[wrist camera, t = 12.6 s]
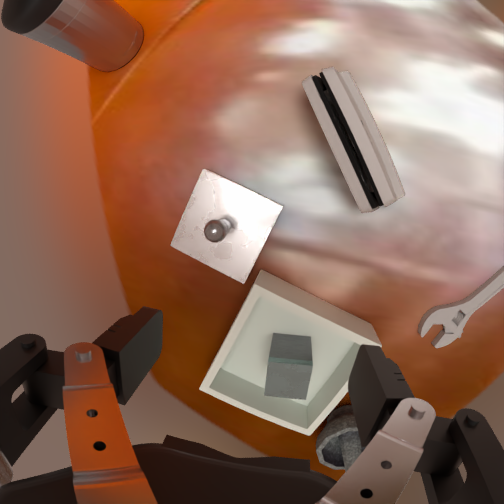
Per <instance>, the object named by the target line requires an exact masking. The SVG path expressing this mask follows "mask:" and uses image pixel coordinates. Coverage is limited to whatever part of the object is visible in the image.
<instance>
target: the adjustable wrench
mask: <svg viewBox="0 0 504 504" xmlns="http://www.w3.org/2000/svg"><path fill="white" fill-rule="evenodd" d="M503 288H504V266H503V267H502V268H501V269H500V270H499V271H497V272H496V273H495V274H494V275H493V276H492V277H491V278H489V279H488V280H487V281H486V282H485V283H484V284H482V285H481V286H480V287H479V288H478V289H476V290H475V291H474V292H473V293H472V294H470V295H469V296H468V297H466V298H465V299H463V300H460V301H457V302H454V303H450V304H445V305H439V306H435V307H433V308H431V309H429V310H428V311H427V312H426V313H425V314H424V315H423V317H422V319H421V321H420V323H419V325H418V333H419V334H420V335H421V337H422V338H423V337H424V335H425V334H426V333H427V332H428V330H429V329H430V328H431V326H432V325H433V324H443V328H444V330H441V331H440V332H439V334H438V335H437V336H436V337H435V339H434V340H433V341H432V342H431V343H432V344H433V345H434V347H436V348H440V347H444V346H446V345H448V344H450V343H451V342H453V341H454V340H455V339H456V338H457V337H459V338H460V337H461V333H462V332H463V327H464V326H465V324H466V322H467V320H468V319H469V317H470V316H471V315H472V314H473V313H474V312H475V311H476V310H477V309H478V308H480V307H481V306H482V305H483V304H485V303H486V302H487V301H488V300H490V299H491V298H492V297H493V296H494V295H496V294H497V293H498V292H499V291H500V290H501V289H503ZM459 310H461V311H462V313H461V312H460V311H459Z"/></svg>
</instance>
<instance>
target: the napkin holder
mask: <svg viewBox="0 0 504 504" xmlns="http://www.w3.org/2000/svg"><path fill="white" fill-rule="evenodd" d="M319 74H320V77H321V78H320V77H318V76H316V75H315V76H312V75H310V76H308V77H307V78H306V79H305V80H303V81H302V85H303V87H304V90H305V92H306V94H307V97H308V99H309V101H310V104H311V106H312V108H313V110H314V112H315V114H316V117H317V119H318V121H319V123H320V126H321V128H322V130H323V132H324V134H325V136H326V139H327V141H328V143H329V145H330V147H331V149H332V152H333V154H334V156H335V158H336V160H337V162H338V165H339V167H340V169H341V171H342V173H343V175H344V178H345V180H346V182H347V184H348V186H349V188H350V190H351V193H352V195H353V197H354V199H355V201H356V203H357V205H358V207H359V210H360V211H361V212H362V213H365V212H373V211H375V210H377V209H378V208H379V206H382V205H384V206H385V207H387V206H388V205H390V204H392V203H394V202H395V201H397V200H398V199H400V198H401V197H403V196H405V192H404V189H403V187H402V184H401V181H400V179H399V176H398V173H397V171H396V168H395V166H394V163H393V161H392V159H391V156H390V154H389V151H388V149H387V147H386V144H385V142H384V140H383V138H382V135H381V133H380V131H379V129H378V127H377V124H376V122H375V120H374V118H373V116H372V114H371V112H370V110H369V108H368V106H367V104H366V102H365V100H364V98H363V96H362V94H361V92H360V90H359V88H358V87H357V85H356V83H355V81H354V79H353V77H352V76H351V74H350V72H349V71H345V72H338V71H337V70H336V69H335V68H334V67H329V68H325V69H322V72H321V73H319ZM345 129H346V131H347V133H348V135H349V137H350V139H351V142H352V144H353V146H354V148H355V150H356V153H357V155H358V156H357V155H356V154H355V152H354V149H353V147H352V145H351V143H350V141H349V138H348V136H347V134H346V132H345Z"/></svg>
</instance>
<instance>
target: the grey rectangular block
mask: <svg viewBox="0 0 504 504" xmlns="http://www.w3.org/2000/svg"><path fill="white" fill-rule="evenodd" d="M312 368H313V359H312V344H311V336H300V335H290V334H280V333H273V336H272V342H271V347H270V353H269V358H268V365H267V374H266V382H265V391H264V396H271V397H280V398H290V399H302V400H306V397H307V393H308V388H309V383H310V378H311V373H312Z"/></svg>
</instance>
